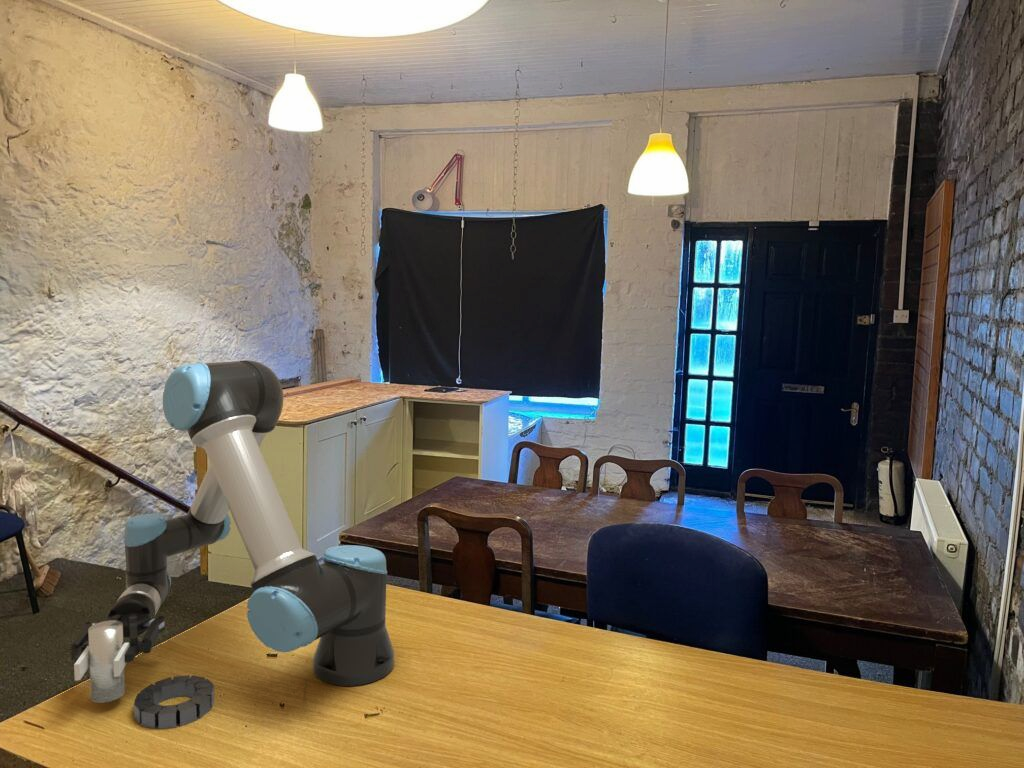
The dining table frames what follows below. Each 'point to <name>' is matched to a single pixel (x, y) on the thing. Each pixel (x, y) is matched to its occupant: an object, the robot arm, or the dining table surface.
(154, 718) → the ring
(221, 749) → the dining table surface
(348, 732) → the dining table surface
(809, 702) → the dining table surface
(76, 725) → the dining table surface
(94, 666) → the cylinder
